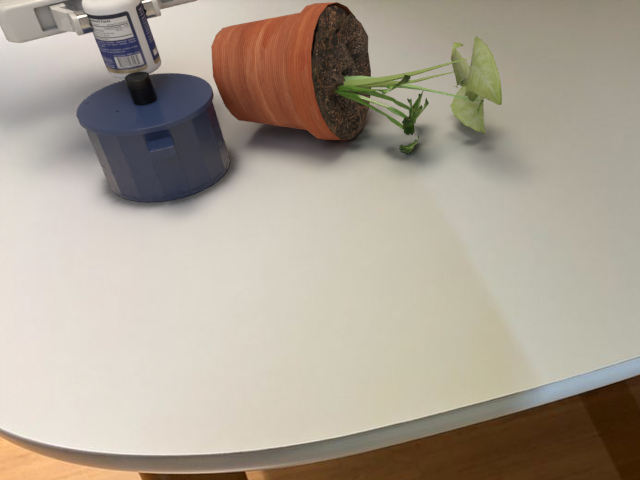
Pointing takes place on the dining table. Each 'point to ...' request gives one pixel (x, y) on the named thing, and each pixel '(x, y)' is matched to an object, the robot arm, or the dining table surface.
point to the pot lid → (145, 104)
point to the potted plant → (331, 75)
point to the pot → (164, 160)
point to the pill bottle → (123, 36)
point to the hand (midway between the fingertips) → (118, 17)
